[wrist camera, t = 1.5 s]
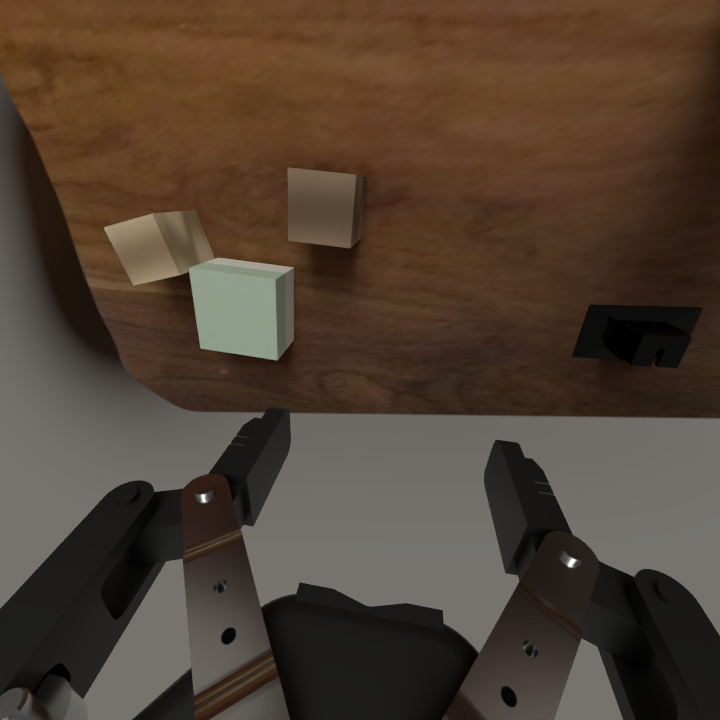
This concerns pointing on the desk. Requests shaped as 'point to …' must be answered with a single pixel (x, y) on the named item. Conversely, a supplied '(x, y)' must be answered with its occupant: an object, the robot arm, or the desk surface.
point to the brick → (160, 245)
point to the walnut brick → (325, 207)
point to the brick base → (244, 307)
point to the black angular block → (637, 334)
